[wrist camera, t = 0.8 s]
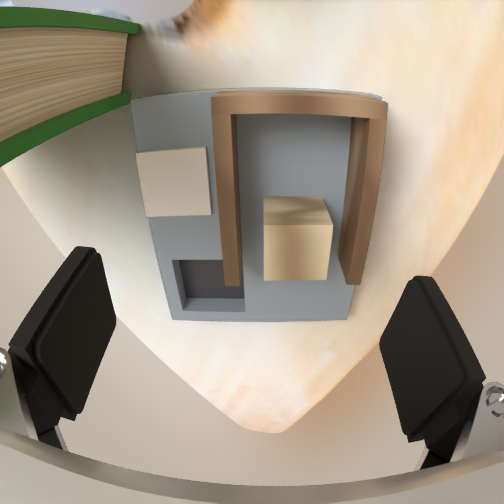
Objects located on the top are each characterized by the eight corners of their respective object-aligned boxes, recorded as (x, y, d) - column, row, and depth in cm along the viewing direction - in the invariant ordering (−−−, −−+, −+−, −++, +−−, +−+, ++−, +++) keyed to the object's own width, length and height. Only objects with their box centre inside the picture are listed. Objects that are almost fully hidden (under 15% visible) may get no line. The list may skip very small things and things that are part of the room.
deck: (372, 93, 23) (383, 97, 21) (343, 305, 37) (347, 322, 34) (140, 97, 24) (128, 101, 22) (176, 305, 37) (171, 322, 35)
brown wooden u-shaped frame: (366, 95, 21) (387, 103, 17) (348, 254, 30) (359, 284, 26) (219, 91, 22) (210, 97, 18) (229, 255, 30) (225, 286, 26)
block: (321, 196, 26) (333, 225, 22) (317, 246, 29) (326, 279, 25) (263, 196, 27) (263, 225, 22) (263, 246, 29) (264, 280, 25)
